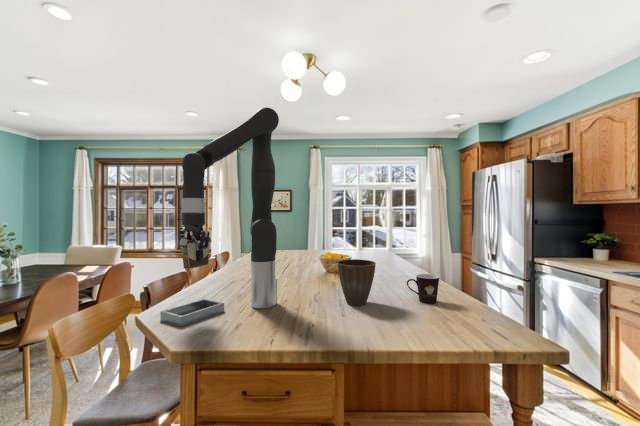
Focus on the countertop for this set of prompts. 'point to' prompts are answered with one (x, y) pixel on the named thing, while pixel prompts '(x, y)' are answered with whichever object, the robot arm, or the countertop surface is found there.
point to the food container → (193, 254)
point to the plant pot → (356, 280)
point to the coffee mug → (426, 288)
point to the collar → (175, 313)
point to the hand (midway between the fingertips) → (193, 260)
